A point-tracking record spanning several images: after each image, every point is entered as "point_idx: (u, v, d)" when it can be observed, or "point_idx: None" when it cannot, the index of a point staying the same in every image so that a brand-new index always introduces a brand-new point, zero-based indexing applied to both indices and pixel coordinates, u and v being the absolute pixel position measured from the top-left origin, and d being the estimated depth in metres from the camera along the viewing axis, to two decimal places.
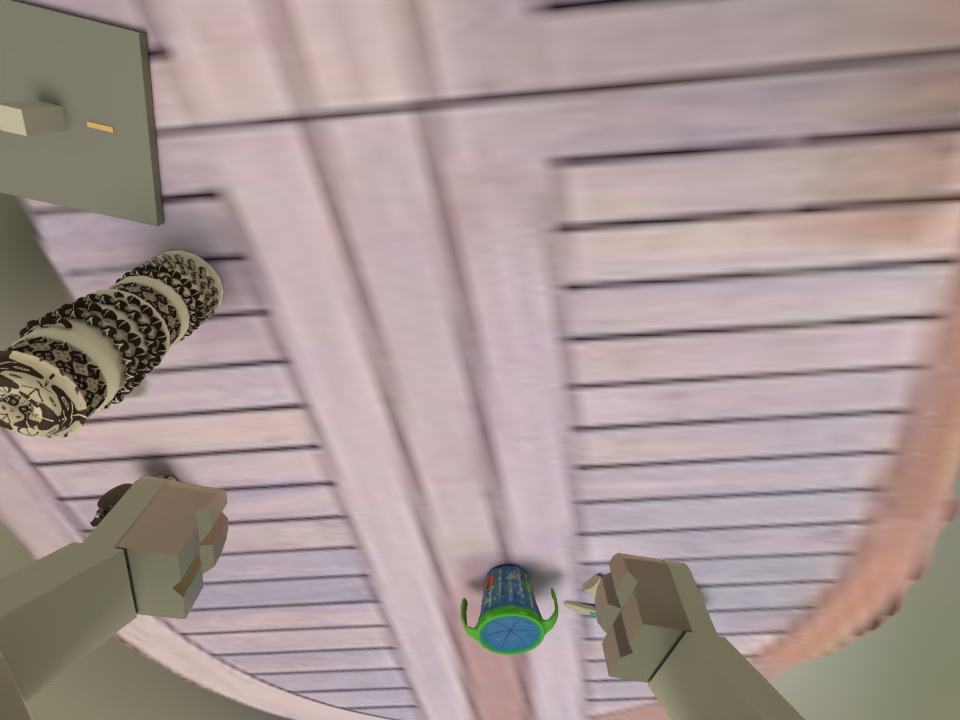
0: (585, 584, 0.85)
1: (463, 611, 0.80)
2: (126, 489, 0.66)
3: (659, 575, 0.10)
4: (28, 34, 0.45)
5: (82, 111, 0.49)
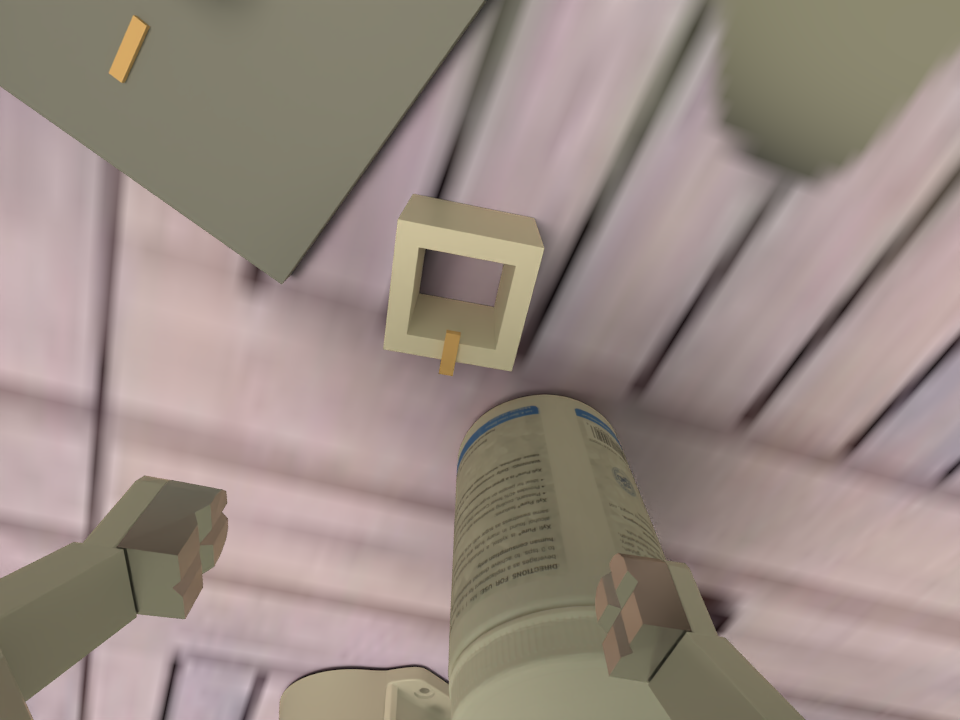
0: None
1: None
2: None
3: (659, 575, 0.10)
4: (358, 60, 0.19)
5: (174, 31, 0.18)
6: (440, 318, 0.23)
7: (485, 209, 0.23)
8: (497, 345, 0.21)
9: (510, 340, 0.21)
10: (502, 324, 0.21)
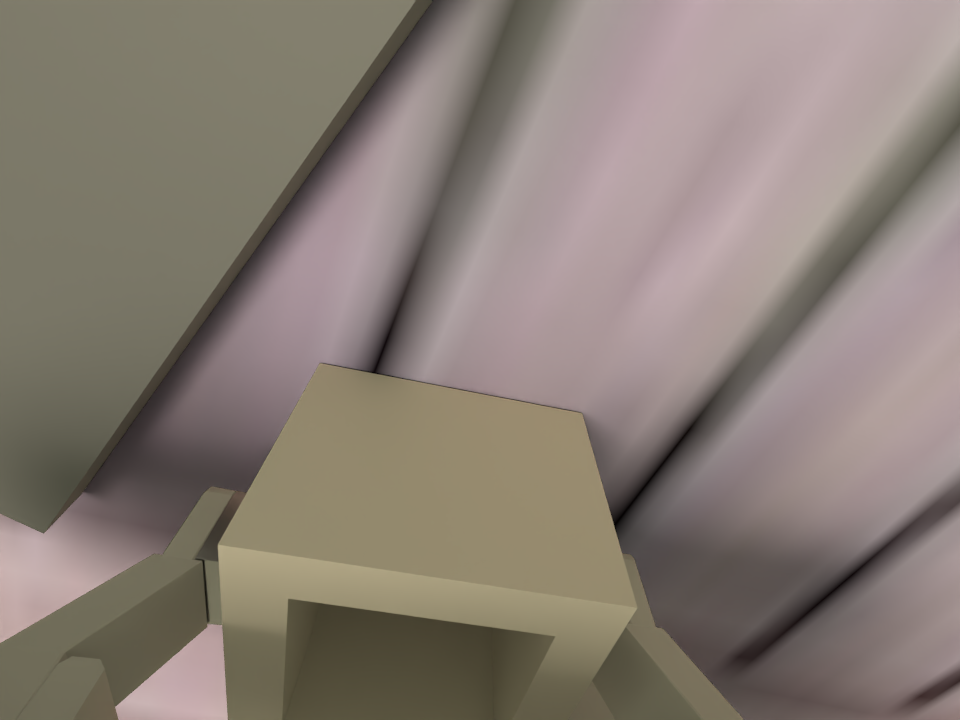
0: None
1: None
2: None
3: None
4: (122, 70, 0.07)
5: None
6: (376, 625, 0.11)
7: (478, 398, 0.10)
8: None
9: None
10: None
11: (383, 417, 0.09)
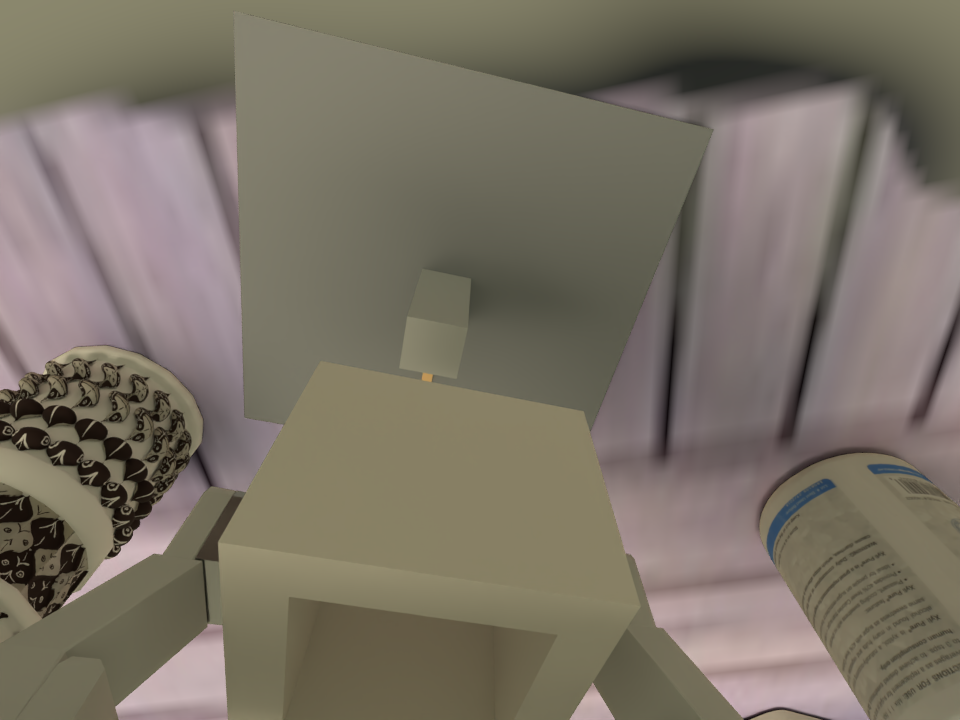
0: None
1: None
2: None
3: None
4: (587, 307, 0.23)
5: None
6: (377, 624, 0.11)
7: (479, 396, 0.10)
8: None
9: None
10: (514, 719, 0.08)
11: (384, 415, 0.09)
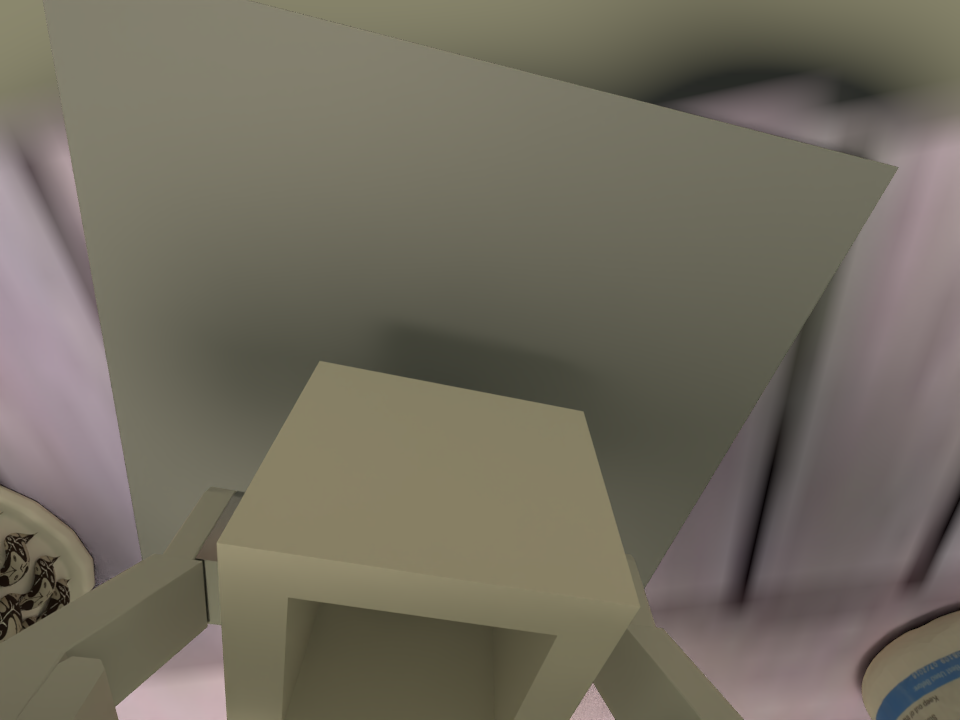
0: None
1: None
2: None
3: None
4: (656, 432, 0.15)
5: None
6: (376, 624, 0.11)
7: (479, 396, 0.10)
8: None
9: None
10: None
11: (383, 415, 0.09)
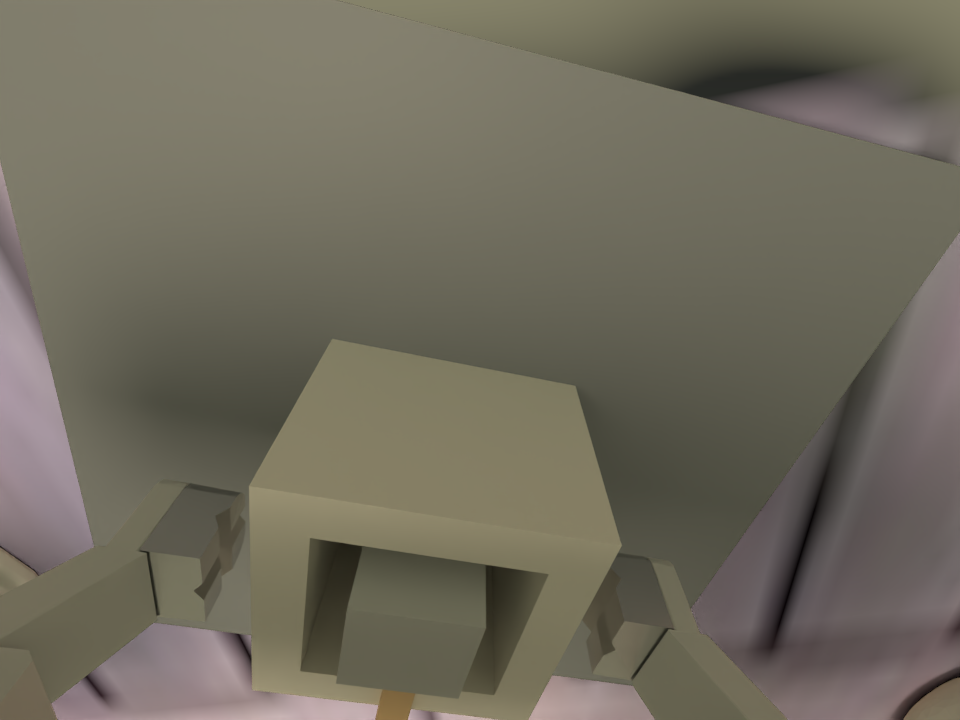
0: None
1: None
2: None
3: (643, 572, 0.10)
4: (690, 476, 0.13)
5: None
6: None
7: (479, 371, 0.11)
8: (498, 687, 0.10)
9: (527, 682, 0.10)
10: (511, 659, 0.09)
11: (392, 385, 0.10)
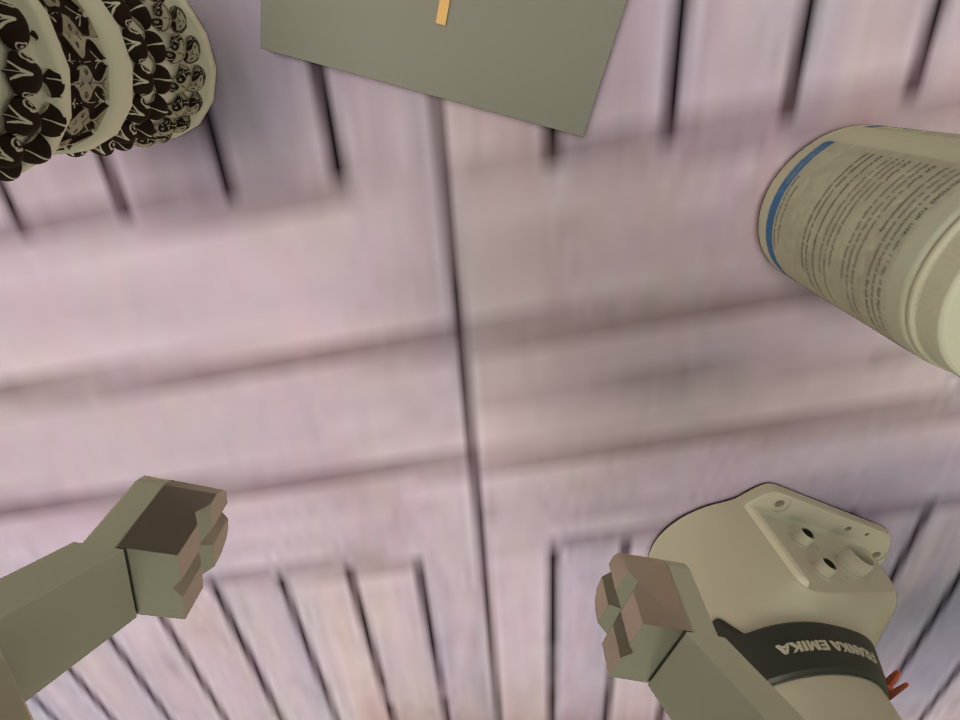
0: None
1: None
2: None
3: (659, 575, 0.10)
4: None
5: None
6: None
7: None
8: None
9: None
10: None
11: None
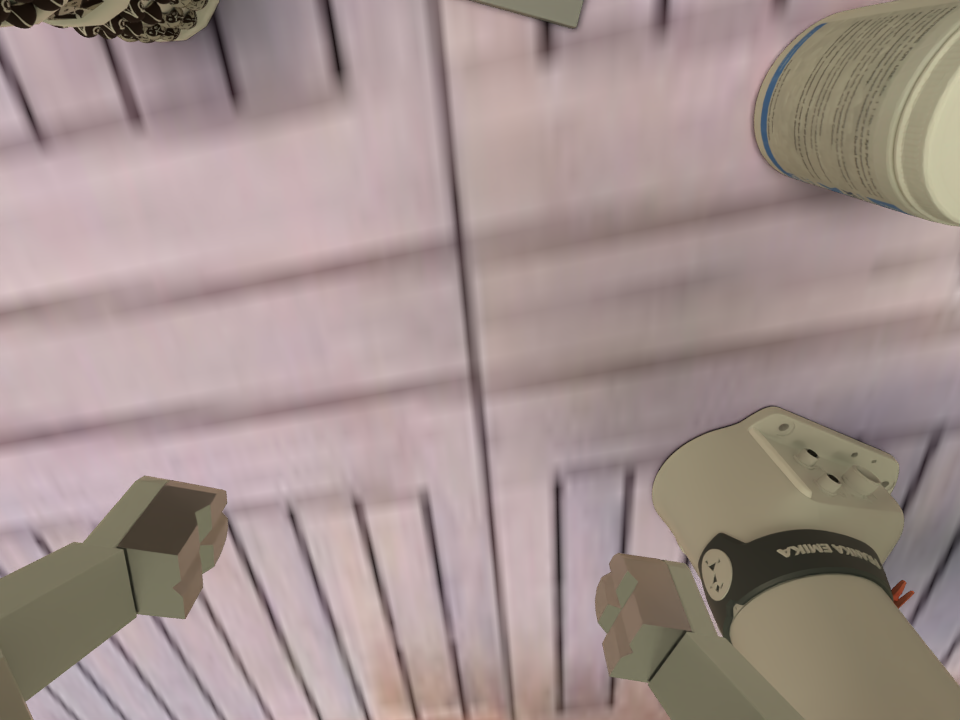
0: None
1: None
2: None
3: (659, 575, 0.10)
4: None
5: None
6: None
7: None
8: None
9: None
10: None
11: None
